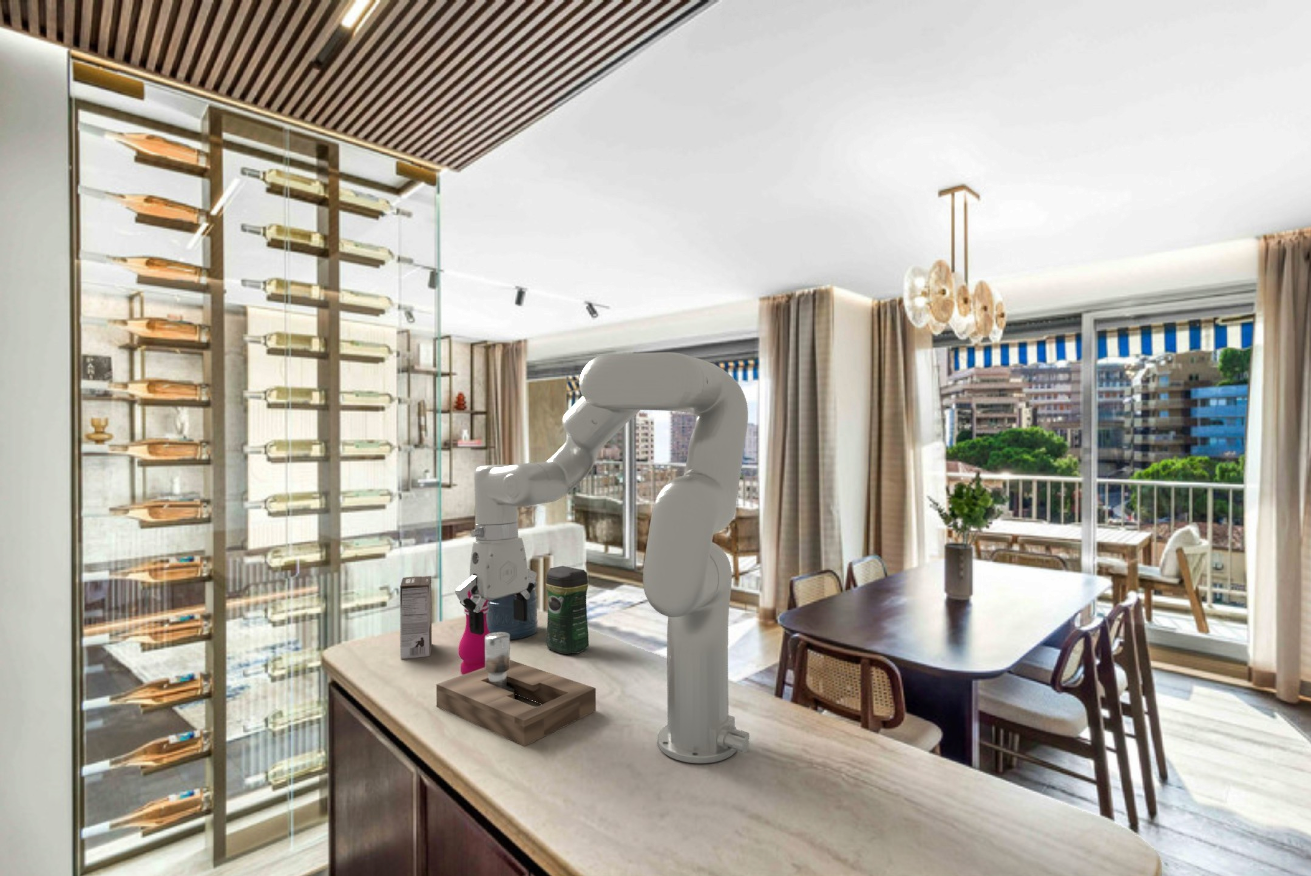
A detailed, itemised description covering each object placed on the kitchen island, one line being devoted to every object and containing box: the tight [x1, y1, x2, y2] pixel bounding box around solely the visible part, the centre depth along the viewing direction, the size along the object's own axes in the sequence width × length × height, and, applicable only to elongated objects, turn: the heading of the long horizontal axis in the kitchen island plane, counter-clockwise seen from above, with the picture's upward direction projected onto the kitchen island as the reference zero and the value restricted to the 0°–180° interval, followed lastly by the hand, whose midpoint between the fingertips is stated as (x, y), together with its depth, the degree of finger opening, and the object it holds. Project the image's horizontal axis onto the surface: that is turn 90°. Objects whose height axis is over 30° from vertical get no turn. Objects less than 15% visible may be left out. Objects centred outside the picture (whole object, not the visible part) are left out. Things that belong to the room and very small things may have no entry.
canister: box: [486, 580, 539, 640], centre depth 155 cm, size 13×13×18 cm
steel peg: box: [485, 632, 516, 700], centre depth 114 cm, size 6×6×12 cm
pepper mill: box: [457, 590, 490, 675], centre depth 130 cm, size 7×7×20 cm
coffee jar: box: [545, 565, 590, 655], centre depth 143 cm, size 10×8×19 cm
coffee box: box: [399, 575, 433, 660], centre depth 142 cm, size 9×6×16 cm
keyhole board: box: [435, 659, 597, 747], centre depth 111 cm, size 24×16×4 cm, turn 52°
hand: (499, 626), depth 114 cm, fingers open, 9 cm apart
